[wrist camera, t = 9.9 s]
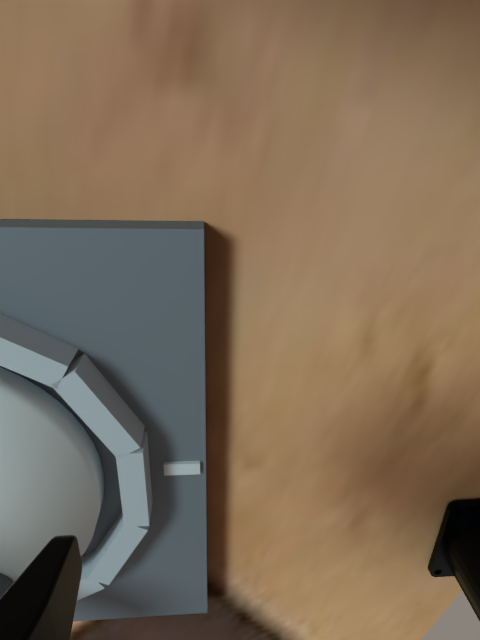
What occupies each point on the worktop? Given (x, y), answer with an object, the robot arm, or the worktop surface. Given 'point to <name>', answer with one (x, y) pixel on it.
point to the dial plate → (121, 392)
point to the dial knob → (42, 476)
